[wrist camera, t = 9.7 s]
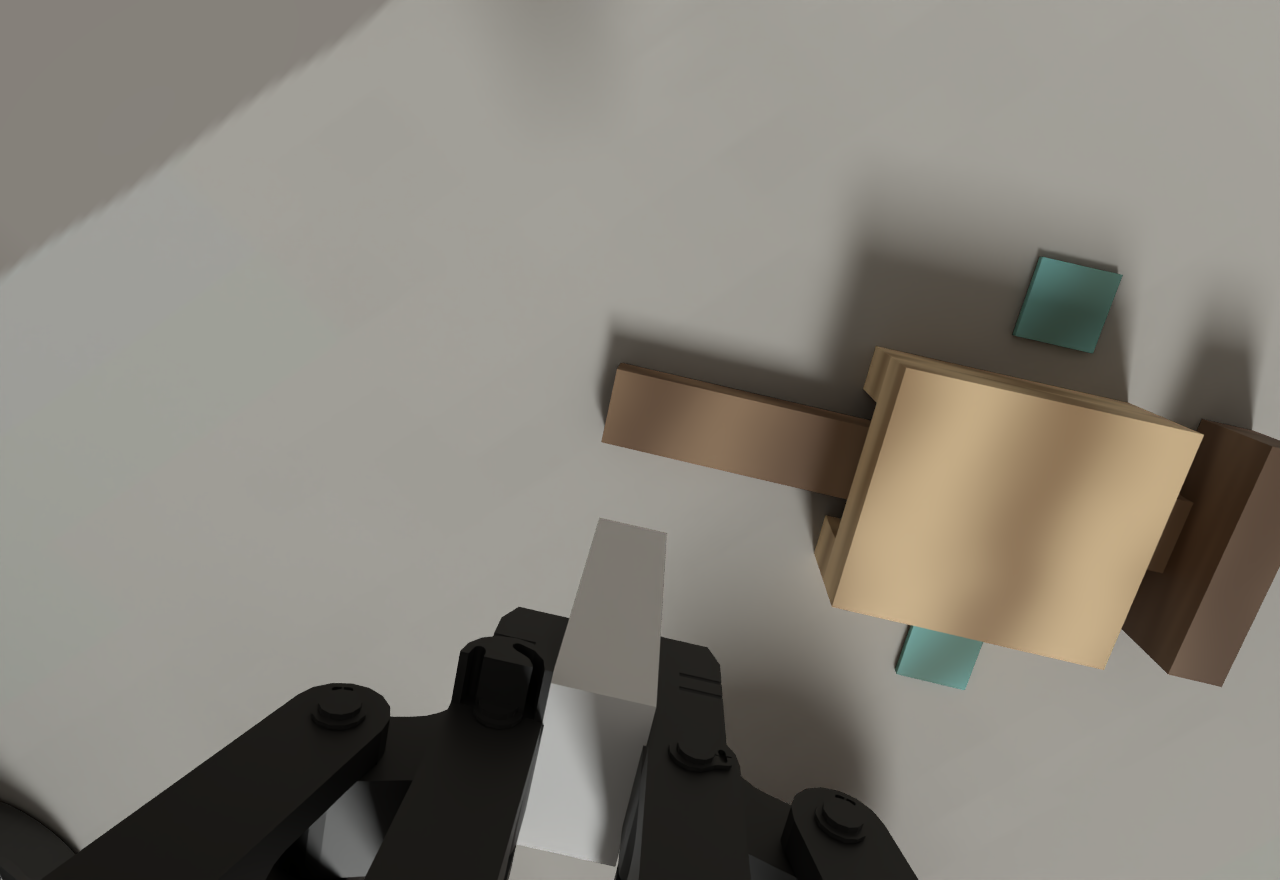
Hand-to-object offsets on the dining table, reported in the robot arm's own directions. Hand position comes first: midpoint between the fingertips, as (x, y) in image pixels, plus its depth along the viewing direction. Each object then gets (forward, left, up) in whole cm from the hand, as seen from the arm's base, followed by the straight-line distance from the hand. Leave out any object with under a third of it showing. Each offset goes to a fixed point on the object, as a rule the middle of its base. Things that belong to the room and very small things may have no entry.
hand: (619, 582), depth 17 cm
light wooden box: (+13, 0, -16) cm, 20 cm away
